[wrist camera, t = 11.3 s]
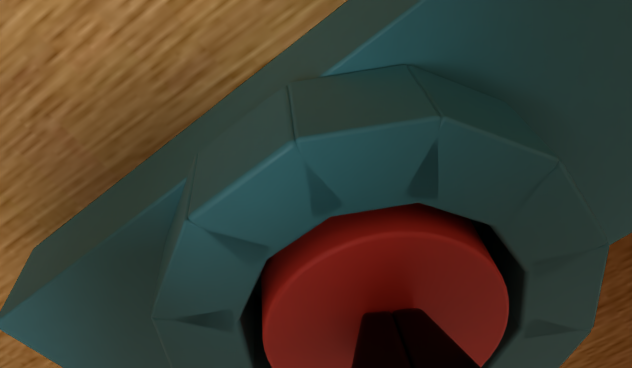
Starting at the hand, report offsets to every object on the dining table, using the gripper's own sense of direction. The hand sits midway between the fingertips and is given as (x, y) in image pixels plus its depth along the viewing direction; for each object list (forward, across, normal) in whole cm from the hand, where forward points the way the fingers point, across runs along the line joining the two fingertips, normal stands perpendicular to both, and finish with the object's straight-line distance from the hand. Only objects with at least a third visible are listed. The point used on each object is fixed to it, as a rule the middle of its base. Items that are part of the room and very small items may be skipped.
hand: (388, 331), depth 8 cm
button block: (+4, 0, 0) cm, 4 cm away
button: (+2, 0, 0) cm, 2 cm away
